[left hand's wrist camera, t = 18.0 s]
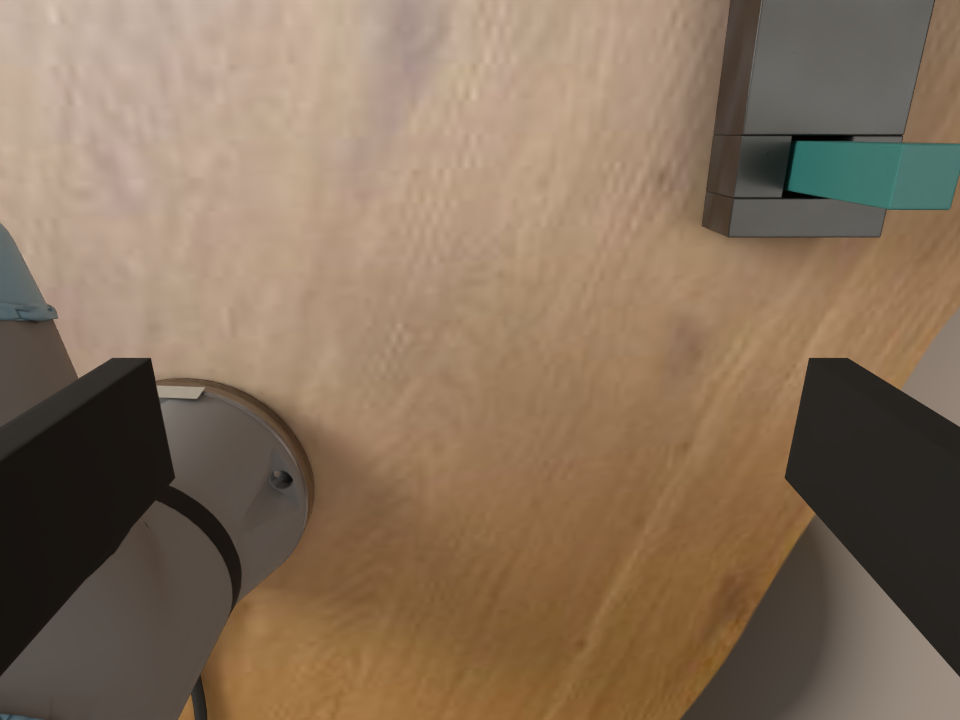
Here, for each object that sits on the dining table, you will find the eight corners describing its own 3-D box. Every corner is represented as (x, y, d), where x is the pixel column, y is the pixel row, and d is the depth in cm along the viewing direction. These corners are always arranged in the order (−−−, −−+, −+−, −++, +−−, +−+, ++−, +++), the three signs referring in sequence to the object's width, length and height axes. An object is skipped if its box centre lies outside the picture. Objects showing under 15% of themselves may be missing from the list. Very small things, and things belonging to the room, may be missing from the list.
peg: (797, 184, 35) (950, 210, 23) (755, 184, 35) (888, 210, 23) (805, 140, 34) (968, 144, 22) (762, 140, 34) (903, 144, 22)
